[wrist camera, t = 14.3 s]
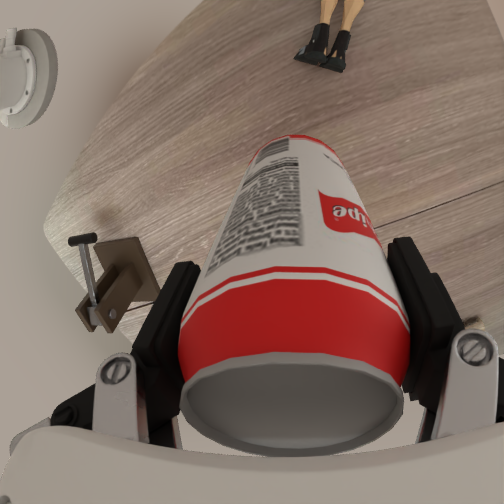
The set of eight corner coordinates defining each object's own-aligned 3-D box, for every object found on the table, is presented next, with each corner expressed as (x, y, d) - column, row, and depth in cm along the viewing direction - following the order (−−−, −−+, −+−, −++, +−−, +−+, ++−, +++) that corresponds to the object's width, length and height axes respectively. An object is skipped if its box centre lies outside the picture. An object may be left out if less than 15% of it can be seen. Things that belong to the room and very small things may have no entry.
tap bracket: (96, 243, 47) (53, 289, 37) (137, 236, 45) (95, 288, 35) (123, 297, 53) (91, 347, 43) (163, 296, 51) (134, 352, 41)
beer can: (317, 114, 17) (407, 280, 4) (358, 199, 19) (435, 434, 6) (230, 158, 19) (100, 370, 6) (276, 234, 22) (244, 469, 8)
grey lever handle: (75, 235, 40) (64, 238, 38) (98, 231, 39) (87, 233, 36) (94, 319, 42) (85, 324, 40) (118, 319, 41) (108, 326, 39)
